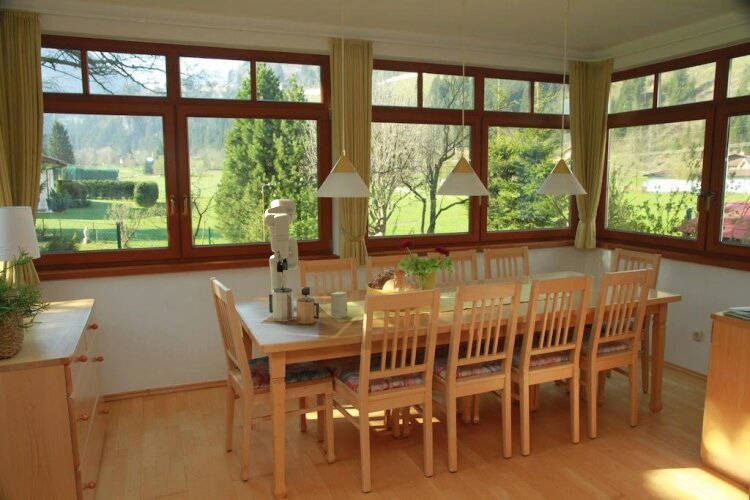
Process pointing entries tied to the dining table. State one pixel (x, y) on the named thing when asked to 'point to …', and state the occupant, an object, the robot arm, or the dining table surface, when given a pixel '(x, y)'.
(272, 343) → the dining table surface
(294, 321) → the walnut board
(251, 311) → the dining table surface
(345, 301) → the skincare box
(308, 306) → the copper press
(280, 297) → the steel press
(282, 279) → the steel plunger
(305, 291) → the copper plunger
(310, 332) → the dining table surface
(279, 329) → the dining table surface
